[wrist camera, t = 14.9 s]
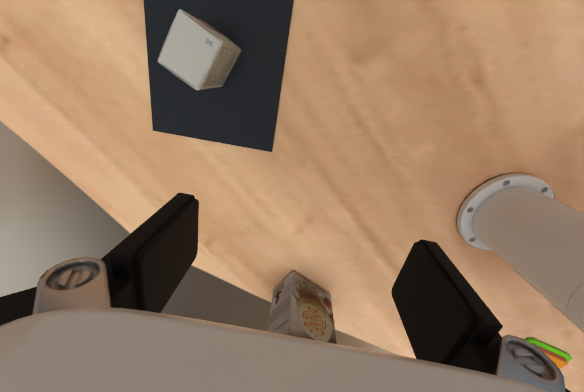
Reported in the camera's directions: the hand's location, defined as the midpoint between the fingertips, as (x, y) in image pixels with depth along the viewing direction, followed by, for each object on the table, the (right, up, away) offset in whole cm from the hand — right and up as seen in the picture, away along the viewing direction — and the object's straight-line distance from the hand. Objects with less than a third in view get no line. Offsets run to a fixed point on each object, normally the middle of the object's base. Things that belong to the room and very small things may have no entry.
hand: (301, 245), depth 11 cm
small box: (-9, +18, +18) cm, 28 cm away
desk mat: (-9, +19, +19) cm, 28 cm away
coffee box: (+1, -15, +35) cm, 38 cm away
